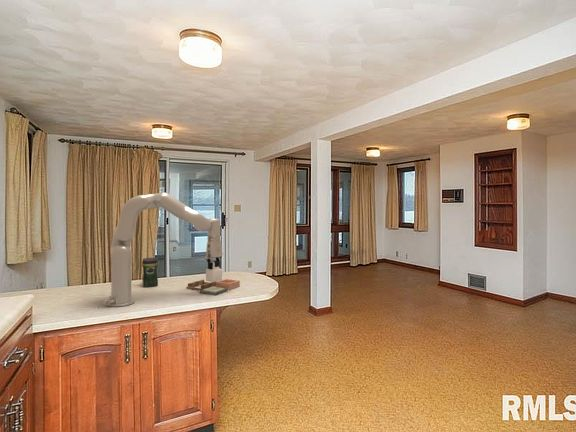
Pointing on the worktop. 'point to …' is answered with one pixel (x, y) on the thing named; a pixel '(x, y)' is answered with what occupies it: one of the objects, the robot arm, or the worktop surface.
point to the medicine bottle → (214, 273)
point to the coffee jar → (149, 272)
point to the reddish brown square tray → (228, 284)
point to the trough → (201, 282)
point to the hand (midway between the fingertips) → (214, 267)
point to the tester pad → (213, 289)
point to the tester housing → (213, 292)
